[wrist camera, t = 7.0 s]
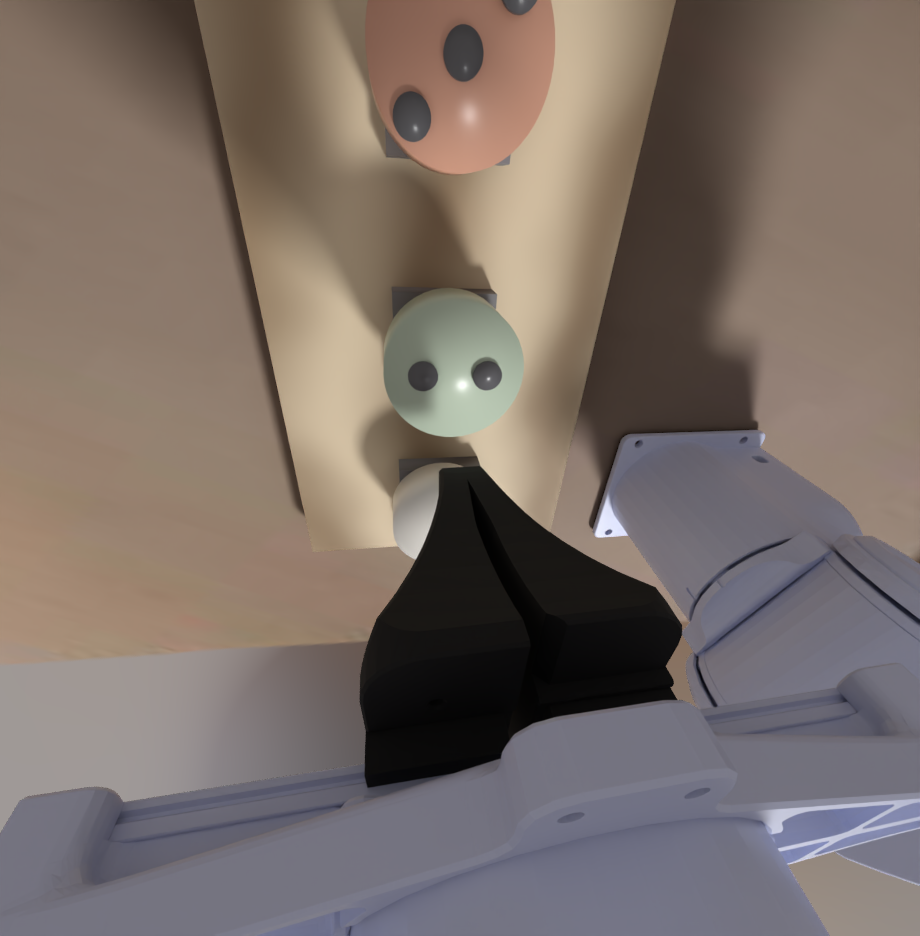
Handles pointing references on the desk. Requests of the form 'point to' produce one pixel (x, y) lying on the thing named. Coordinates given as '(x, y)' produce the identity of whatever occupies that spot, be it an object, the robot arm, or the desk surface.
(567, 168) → the button panel
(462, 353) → the sage button
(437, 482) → the off-white button
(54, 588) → the desk surface
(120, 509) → the desk surface
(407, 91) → the terracotta button
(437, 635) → the robot arm
